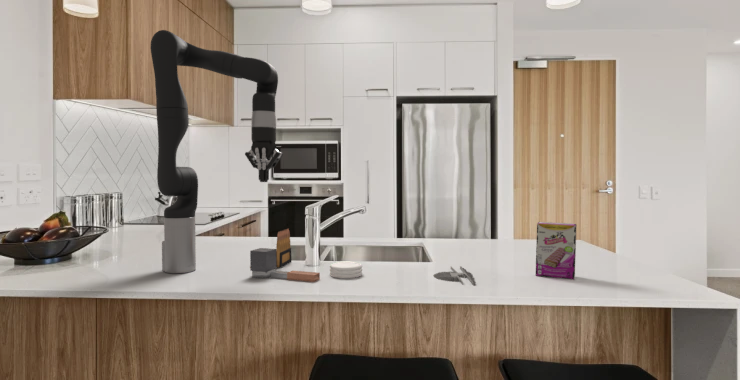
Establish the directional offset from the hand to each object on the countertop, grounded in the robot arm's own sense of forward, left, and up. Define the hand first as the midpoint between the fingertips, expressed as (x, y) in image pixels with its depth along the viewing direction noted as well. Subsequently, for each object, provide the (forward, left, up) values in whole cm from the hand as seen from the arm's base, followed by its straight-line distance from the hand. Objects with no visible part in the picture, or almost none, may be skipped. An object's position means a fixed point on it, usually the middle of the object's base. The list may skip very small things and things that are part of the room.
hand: (263, 181), depth 146 cm
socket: (+3, -5, -27) cm, 27 cm away
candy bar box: (+87, +25, -29) cm, 95 cm away
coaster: (+26, +5, -29) cm, 39 cm away
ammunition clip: (0, +12, -29) cm, 31 cm away
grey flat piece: (+59, +15, -29) cm, 67 cm away
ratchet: (+10, -5, -29) cm, 31 cm away
